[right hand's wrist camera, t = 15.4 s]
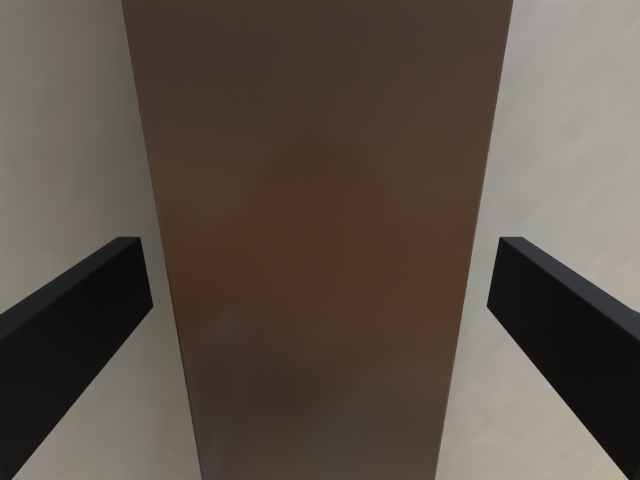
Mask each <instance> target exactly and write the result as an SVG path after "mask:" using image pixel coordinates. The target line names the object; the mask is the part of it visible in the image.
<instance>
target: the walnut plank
mask: <svg viewBox="0 0 640 480" xmlns="http://www.w3.org/2000/svg"><path fill="white" fill-rule="evenodd" d="M121 1H122V7H123V13H124V19H125V25H126V31H127V37H128V43H129V49H130V55H131V61H132V67H133V72H134V78H135V84H136V90H137V96H138V102H139V108H140V114H141V120H142V126H143V132H144V138H145V144H146V150H147V156H148V162H149V167H150V173H151V179H152V185H153V191H154V197H155V203H156V209H157V215H158V221H159V227H160V233H161V239H162V245H163V251H164V257H165V262H166V268H167V274H168V280H169V286H170V292H171V298H172V304H173V310H174V316H175V322H176V328H177V334H178V340H179V346H180V352H181V358H182V363H183V369H184V375H185V381H186V387H187V393H188V399H189V405H190V411H191V417H192V423H193V429H194V435H195V441H196V447H197V453H198V458H199V464H200V470H201V476H202V480H435V475H436V469H437V463H438V457H439V451H440V445H441V438H442V432H443V426H444V420H445V414H446V408H447V402H448V396H449V390H450V384H451V377H452V371H453V365H454V359H455V353H456V347H457V341H458V335H459V329H460V322H461V316H462V310H463V304H464V298H465V292H466V286H467V280H468V274H469V267H470V261H471V255H472V249H473V243H474V237H475V231H476V225H477V219H478V213H479V206H480V200H481V194H482V188H483V182H484V176H485V170H486V164H487V158H488V151H489V145H490V139H491V133H492V127H493V121H494V115H495V109H496V103H497V96H498V90H499V84H500V78H501V72H502V66H503V60H504V54H505V48H506V42H507V35H508V29H509V23H510V17H511V11H512V5H513V0H121Z"/></svg>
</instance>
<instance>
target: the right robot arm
mask: <svg viewBox="0 0 640 480" xmlns="http://www.w3.org/2000/svg"><path fill="white" fill-rule="evenodd" d="M152 308H153V302H152V297H151V291H150V286H149V281H148V275H147V270H146V265H145V260H144V254H143V249H142V244H141V239H140V237H117V238H116V239H114V240H113V241H111V242H110V243H108V244H107V245H105V246H104V247H102V248H101V249H99V250H97V251H96V252H94V253H93V254H91V255H90V256H88V257H87V258H85V259H84V260H82V261H81V262H79V263H78V264H76V265H75V266H73V267H72V268H70V269H69V270H67V271H66V272H64V273H63V274H61V275H60V276H58V277H57V278H55V279H54V280H52V281H51V282H49V283H48V284H46V285H45V286H43V287H42V288H40V289H38V290H37V291H35V292H34V293H32V294H31V295H29V296H28V297H26V298H25V299H23V300H22V301H20V302H19V303H17V304H16V305H14V306H13V307H11V308H10V309H8V310H7V311H5V312H4V313H2V314H0V480H12V478H13V477H14V476H15V475H16V473H17V472H18V471H19V470H20V469H21V467H22V466H23V465H24V464H25V462H26V461H27V460H28V459H29V458H30V456H31V455H32V454H33V453H34V451H35V450H36V449H37V448H38V447H39V445H40V444H41V443H42V442H43V441H44V439H45V438H46V437H47V436H48V434H49V433H50V432H51V431H52V430H53V428H54V427H55V426H56V425H57V423H58V422H59V421H60V420H61V419H62V417H63V416H64V415H65V414H66V412H67V411H68V410H69V409H70V408H71V406H72V405H73V404H74V403H75V402H76V400H77V399H78V398H79V397H80V395H81V394H82V393H83V392H84V391H85V389H86V388H87V387H88V386H89V384H90V383H91V382H92V381H93V380H94V378H95V377H96V376H97V375H98V373H99V372H100V371H101V370H102V369H103V367H104V366H105V365H106V364H107V362H108V361H109V360H110V359H111V358H112V356H113V355H114V354H115V353H116V352H117V350H118V349H119V348H120V347H121V345H122V344H123V343H124V342H125V341H126V339H127V338H128V337H129V336H130V334H131V333H132V332H133V331H134V330H135V328H136V327H137V326H138V325H139V323H140V322H141V321H142V320H143V319H144V317H145V316H146V315H147V314H148V313H149V311H150V310H151V309H152ZM487 308H488V309H489V310H490V311H491V312H492V314H493V315H494V316H495V317H496V319H497V320H498V321H499V322H500V323H501V325H502V326H503V327H504V328H505V330H506V331H507V332H508V333H509V334H510V336H511V337H512V338H513V339H514V341H515V342H516V343H517V344H518V345H519V347H520V348H521V349H522V350H523V352H524V353H525V354H526V355H527V356H528V358H529V359H530V360H531V361H532V362H533V364H534V365H535V366H536V367H537V369H538V370H539V371H540V372H541V373H542V375H543V376H544V377H545V378H546V380H547V381H548V382H549V383H550V384H551V386H552V387H553V388H554V389H555V391H556V392H557V393H558V394H559V395H560V397H561V398H562V399H563V400H564V401H565V403H566V404H567V405H568V406H569V408H570V409H571V410H572V411H573V412H574V414H575V415H576V416H577V417H578V419H579V420H580V421H581V422H582V423H583V425H584V426H585V427H586V428H587V430H588V431H589V432H590V433H591V434H592V436H593V437H594V438H595V439H596V441H597V442H598V443H599V444H600V445H601V447H602V448H603V449H604V450H605V451H606V453H607V454H608V455H609V456H610V458H611V459H612V460H613V461H614V462H615V464H616V465H617V466H618V467H619V469H620V470H621V471H622V472H623V473H624V475H625V476H626V477H627V478H628V480H640V313H639V312H636V311H634V310H632V309H630V308H629V307H627V306H626V305H624V304H623V303H621V302H620V301H618V300H617V299H615V298H614V297H612V296H611V295H609V294H608V293H606V292H605V291H603V290H602V289H600V288H598V287H597V286H595V285H594V284H592V283H591V282H589V281H588V280H586V279H585V278H583V277H582V276H580V275H579V274H577V273H576V272H574V271H573V270H571V269H570V268H568V267H567V266H565V265H564V264H562V263H561V262H559V261H558V260H556V259H555V258H553V257H552V256H550V255H549V254H547V253H546V252H544V251H543V250H541V249H539V248H538V247H536V246H535V245H533V244H532V243H530V242H529V241H527V240H526V239H524V238H523V237H500V239H499V244H498V249H497V254H496V260H495V265H494V270H493V275H492V281H491V286H490V291H489V297H488V302H487Z"/></svg>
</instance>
